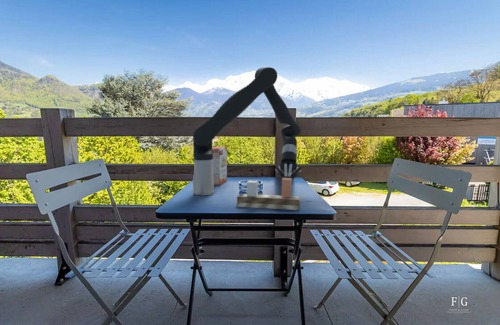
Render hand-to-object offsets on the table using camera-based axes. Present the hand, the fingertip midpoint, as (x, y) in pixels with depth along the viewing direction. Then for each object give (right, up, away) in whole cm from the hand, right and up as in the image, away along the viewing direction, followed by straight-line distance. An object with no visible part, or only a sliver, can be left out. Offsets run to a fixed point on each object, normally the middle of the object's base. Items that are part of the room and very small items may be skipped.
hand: (287, 184), depth 126 cm
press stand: (-9, -7, -7) cm, 13 cm away
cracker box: (-35, -2, +33) cm, 48 cm away
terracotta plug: (-1, -5, -4) cm, 6 cm away
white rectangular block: (-16, -6, -9) cm, 19 cm away
